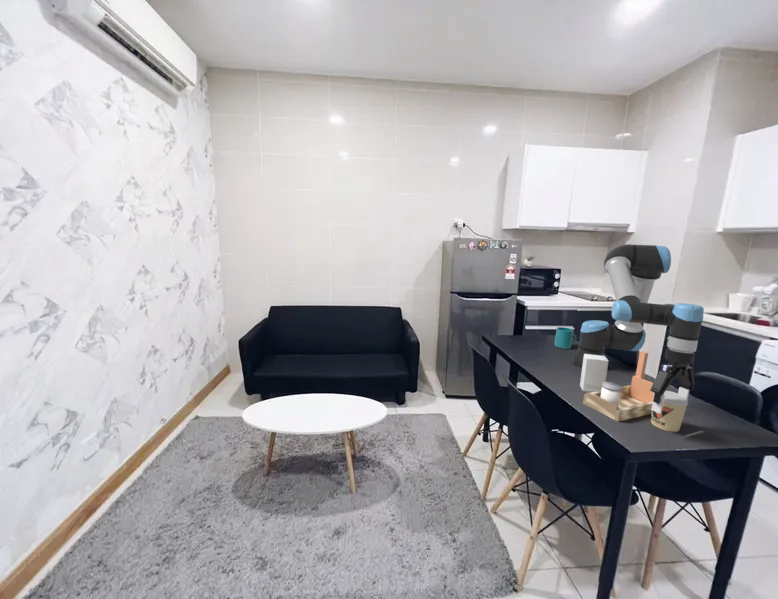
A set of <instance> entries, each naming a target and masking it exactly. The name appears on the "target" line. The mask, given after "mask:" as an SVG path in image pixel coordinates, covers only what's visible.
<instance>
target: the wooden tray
mask: <svg viewBox="0 0 778 599" xmlns="http://www.w3.org/2000/svg"><path fill="white" fill-rule="evenodd" d="M621 386H622V385H621ZM630 388H631V384H629V385H624V386H622V391H621V395H620V400H619V406H617V405H615V404H613V403H611V402H608V401H606V400H604V399H602V398H600V396H601V391H596V392H586V393H584V395H583V400H582V404H583V405H585V406H587V407H589V408H591V409H593V410H595V411H597V412H599V413H600V414H602V415H603V416H604V415H605V416H606V417H609V419H612V420H614V421H616V422H622V421H628V420H630V419H634V418H635V419H636V418H639V417H643V416H648V415H652V410H651V409H652V403H653V401H652V402H647V403H645V402H643V401H641V400H638V399H636V398H634V397H631V396H629V394H630Z"/></svg>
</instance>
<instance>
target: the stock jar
mask: <svg viewBox="0 0 778 599" xmlns="http://www.w3.org/2000/svg"><path fill="white" fill-rule="evenodd" d="M621 391H622V385H620V384H618V383H615V382H612V381H606V382H603V383H602V390H601V396H600V398H602V399H604V400H606V401H608V402H611V403H613V404H615V405H617V406H619V400H620V395H621Z"/></svg>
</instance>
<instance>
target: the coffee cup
mask: <svg viewBox="0 0 778 599" xmlns="http://www.w3.org/2000/svg"><path fill="white" fill-rule="evenodd" d="M653 395H654V394H653ZM663 395H665V398H664V403H663V408H662V413H661V414H660V413H657V412H655V411H653V410H652V414H650V415H651V416H650V417H651V418H650V423H651V424H652V425H653V426H655V427H657V428H659V429H661V430H664V431H667V432H674V433H676V432H677V433H678V432H680V429H681V426H682V423H683V420H684V417H685V413H686V410H687V406H688V405H689V400H688V399H689V398H688V399H687V398H686V397H684V396H682V395H680V394H678V392H674V391H671V390H666V391H665V392H664V394H663ZM653 398H654V397H653Z"/></svg>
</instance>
